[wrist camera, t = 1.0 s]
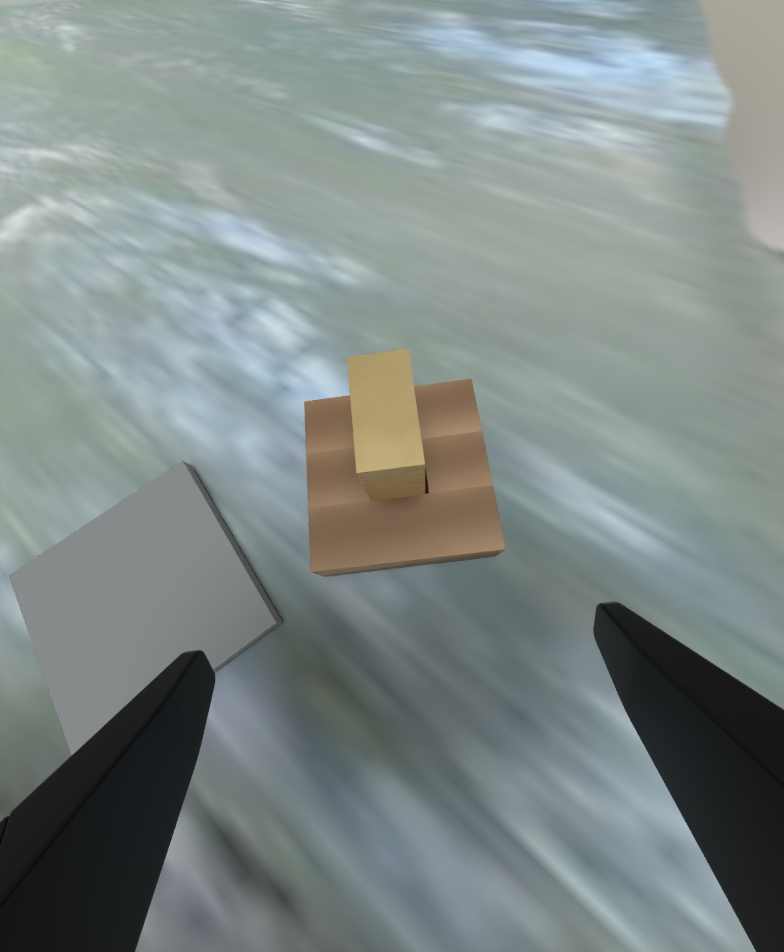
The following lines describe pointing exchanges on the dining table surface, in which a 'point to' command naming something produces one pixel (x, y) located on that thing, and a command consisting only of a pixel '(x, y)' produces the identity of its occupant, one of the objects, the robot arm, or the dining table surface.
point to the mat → (138, 600)
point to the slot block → (408, 518)
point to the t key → (386, 425)
